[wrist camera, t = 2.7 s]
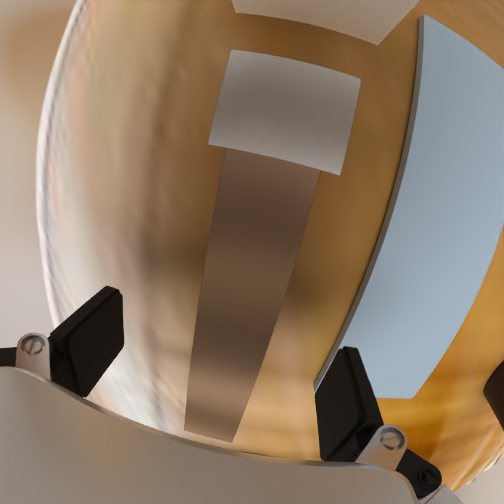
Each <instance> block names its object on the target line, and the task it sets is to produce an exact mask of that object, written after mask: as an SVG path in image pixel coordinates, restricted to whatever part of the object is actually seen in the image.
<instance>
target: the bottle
mask: <svg viewBox="0 0 504 504" xmlns="http://www.w3.org/2000/svg"><path fill="white" fill-rule="evenodd" d="M484 395H485V398H486V399H487V401H488V403H489V405H490V406H491V408H492V410H493V412H494V413H495V415H496V417H497V419H498V421H499V423H500V425H501V427H502V429H503V431H504V362H503V363H502V364H501V365H500V366H499V368H498V369H497V370H496V371H495V372H494V374H493V375H492V377H491V378H490V380H489V381H488V383H487V385H486V388H485V392H484Z"/></svg>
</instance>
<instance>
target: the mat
mask: <svg viewBox="0 0 504 504" xmlns="http://www.w3.org/2000/svg"><path fill="white" fill-rule="evenodd" d="M503 224H504V69H503V68H502V67H501V66H499V65H498V64H497V63H496V62H495V61H493V60H492V59H491V58H490V57H489V56H487V55H486V54H485V53H484V52H482V51H481V50H480V49H478V48H477V47H476V46H474V45H473V44H472V43H470V42H469V41H467V40H466V39H464V38H463V37H462V36H460V35H459V34H457V33H455V32H454V31H452V30H451V29H449V28H448V27H446V26H444V25H443V24H441V23H439V22H438V21H436V20H434V19H432V18H431V17H429V16H427V15H425V14H424V15H422V16H421V17H420V18H419V37H418V54H417V66H416V76H415V84H414V92H413V99H412V106H411V112H410V118H409V123H408V129H407V134H406V139H405V144H404V148H403V153H402V157H401V161H400V166H399V170H398V174H397V178H396V181H395V185H394V189H393V192H392V196H391V199H390V203H389V206H388V210H387V213H386V216H385V219H384V223H383V226H382V229H381V232H380V235H379V238H378V241H377V244H376V246H375V249H374V252H373V255H372V258H371V260H370V263H369V266H368V268H367V271H366V273H365V276H364V279H363V281H362V284H361V286H360V289H359V291H358V293H357V296H356V298H355V301H354V303H353V305H352V308H351V310H350V312H349V314H348V317H347V319H346V321H345V323H344V325H343V328H342V330H341V332H340V334H339V336H338V338H337V340H336V342H335V344H334V346H333V348H332V350H331V352H330V354H329V356H328V358H327V360H326V362H325V364H324V366H323V368H322V370H321V372H320V374H319V375H318V377H317V379H316V381H315V383H314V392H316V390H317V388H318V387H319V385H320V383H321V381H322V379H323V378H324V376H325V374H326V372H327V370H328V368H329V366H330V365H331V363H332V361H333V359H334V357H335V355H336V353H337V351H338V349H342V348H343V347H344V346H349V347H355V348H358V350H359V353H360V356H361V359H362V361H363V364H364V367H365V370H366V373H367V376H368V379H369V381H370V383H371V386H372V389H373V392H374V395H375V397H376V398H413V397H414V395H415V394H416V393H417V391H418V390H419V389H420V388H421V386H422V385H423V384H424V382H425V381H426V380H427V378H428V377H429V375H430V374H431V373H432V371H433V370H434V368H435V367H436V365H437V364H438V362H439V361H440V359H441V358H442V356H443V355H444V353H445V352H446V350H447V349H448V347H449V345H450V344H451V342H452V340H453V339H454V337H455V335H456V334H457V332H458V330H459V328H460V327H461V325H462V323H463V321H464V319H465V317H466V315H467V314H468V312H469V310H470V308H471V306H472V304H473V302H474V300H475V297H476V295H477V293H478V291H479V289H480V287H481V284H482V282H483V280H484V277H485V275H486V272H487V270H488V268H489V265H490V262H491V260H492V257H493V254H494V252H495V249H496V246H497V243H498V240H499V237H500V234H501V230H502V227H503Z"/></svg>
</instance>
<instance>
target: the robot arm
mask: <svg viewBox="0 0 504 504" xmlns="http://www.w3.org/2000/svg"><path fill="white" fill-rule="evenodd" d="M123 346H124V328H123V297H122V294H120V291H119V290H118V289H116V288H113V287H110V286H105V287H104V288H103V289H102V290H100V291H99V292H98V293H97V294H95V295H94V296H93V297H92V298H91V299H89V300H88V301H87V302H86V303H85V304H83V305H82V306H81V307H80V308H79V309H78V310H76V311H75V312H74V313H73V314H72V315H71V316H69V317H68V318H67V319H66V320H65V321H64V322H63V323H61V324H60V325H59V326H58V327H57V328H56V329H55V330H54V331H52V332H51V333H50V336H49V337H48V338H46V337H45V336H44V335H42V334H39V333H29V334H26V335H24V336H23V337H21V338H20V340H19V341H18V344H17V347H12V348H0V504H463V503H462V502H461V501H460V500H459V499H458V498H457V496H456V495H455V494H454V493H453V492H452V491H451V490H450V489H449V488H448V487H447V486H446V484H444V485H443V486H442V485H441V481H442V476H441V473H440V471H439V470H438V468H436V467H435V466H434V465H432V464H431V463H429V462H427V461H426V460H424V459H423V458H421V457H419V456H418V455H416V454H415V453H413V452H412V451H410V450H409V449H407V445H408V438H407V436H406V434H405V433H404V431H403V430H402V429H400V428H399V427H397V426H395V425H390V424H388V425H384V423H383V420H382V417H381V414H380V410H379V407H378V404H377V401H376V398H375V395H374V392H373V389H372V386H371V383H370V381H369V379H368V376H367V373H366V370H365V367H364V364H363V361H362V359H361V356H360V353H359V350H358V348H355V347H349V346H344V347H343V348H342V349H338V351H337V353H336V355H335V357H334V359H333V361H332V363H331V365H330V366H329V368H328V370H327V372H326V374H325V376H324V378H323V379H322V381H321V383H320V385H319V387H318V388H317V390H316V393H315V404H316V413H317V423H318V434H319V445H320V457H321V459H322V460H324V461H311V460H298V459H287V458H278V457H270V456H263V455H256V454H250V453H244V452H239V451H234V450H229V449H224V448H219V447H215V446H211V445H207V444H203V443H199V442H195V441H192V440H188V439H185V438H181V437H178V436H175V435H172V434H168V433H165V432H162V431H159V430H157V429H154V428H151V427H148V426H146V425H143V424H140V423H138V422H135V421H133V420H130V419H128V418H125V417H123V416H121V415H118V414H116V413H114V412H112V411H109V410H107V409H105V408H103V407H101V406H99V405H97V404H95V403H93V402H91V401H88V400H86V399H84V398H83V397H87V396H88V395H89V393H90V392H91V390H92V389H93V388H94V386H95V385H96V383H97V382H98V381H99V379H100V378H101V377H102V375H103V374H104V372H105V371H106V370H107V368H108V367H109V366H110V364H111V363H112V362H113V360H114V359H115V358H116V356H117V355H118V354H119V352H120V351H121V350H122V348H123Z"/></svg>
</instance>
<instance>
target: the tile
mask: <svg viewBox="0 0 504 504" xmlns="http://www.w3.org/2000/svg"><path fill="white" fill-rule="evenodd" d="M419 1H420V0H231V2H232V4H233V7H234V10H235V13H243V14H253V15H261V16H269V17H275V18H281V19H287V20H292V21H297V22H302V23H306V24H311V25H315V26H319V27H323V28H326V29H330V30H334V31H337V32H340V33H344V34H347V35H350V36H353V37H356V38H359V39H361V40H364V41H367V42H370V43H372V44H375V45H377V46H378V45H379V44H380V43H381V41H382V40H383V39H384V38H385V37H386V36H387V35H388V34H389V33H390V32H391V31H392V30H393V29H394V27H395V26H396V25H397V24H398V23H399V22H400V21H401V20H402V19H403V18H404V17H405V16H406V15H407V14H408V13H409V12H410V11H411V10H412V9H413V8H414V7H415V6H416V4H417V3H418V2H419Z"/></svg>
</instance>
